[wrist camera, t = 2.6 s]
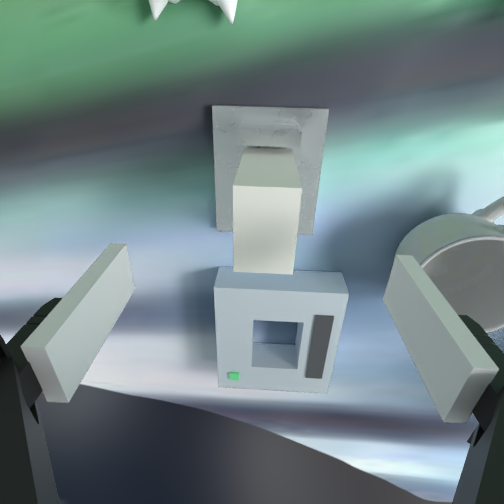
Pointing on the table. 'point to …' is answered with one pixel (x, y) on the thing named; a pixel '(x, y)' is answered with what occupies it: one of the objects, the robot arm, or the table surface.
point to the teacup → (464, 261)
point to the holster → (268, 136)
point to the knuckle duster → (227, 3)
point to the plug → (266, 211)
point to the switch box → (286, 310)
